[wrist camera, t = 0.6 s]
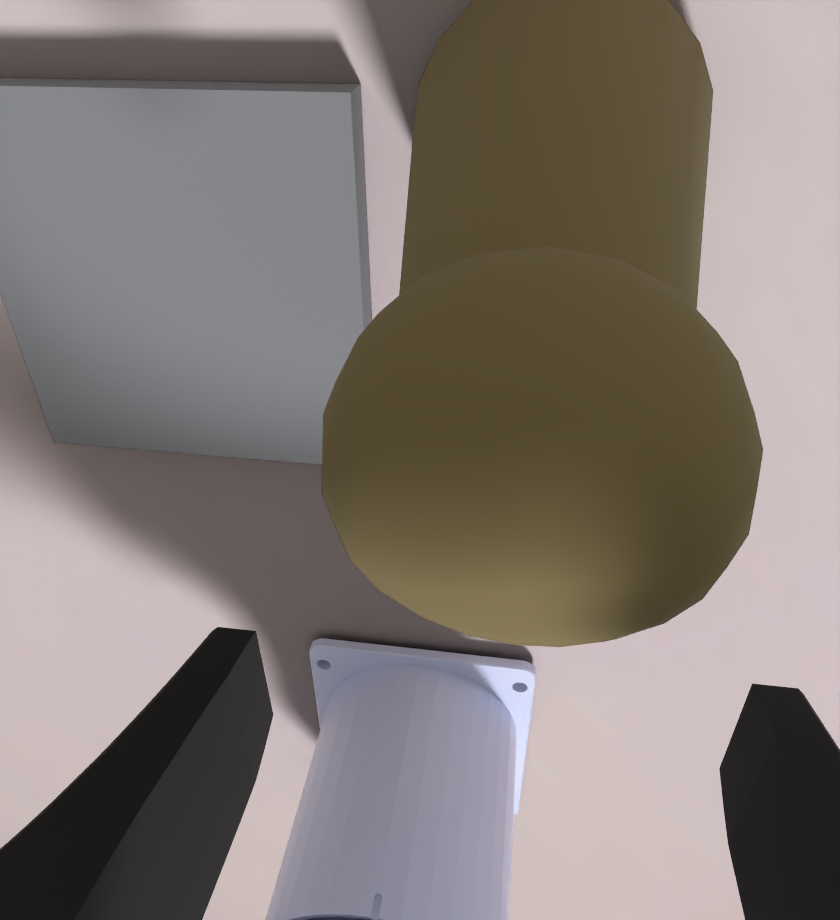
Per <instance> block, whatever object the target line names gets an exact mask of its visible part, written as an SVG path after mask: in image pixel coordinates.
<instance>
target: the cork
mask: <svg viewBox="0 0 840 920" xmlns="http://www.w3.org/2000/svg"><path fill="white" fill-rule="evenodd" d="M712 98H713V89H712V85H711V81H710V77H709V74H708V70H707V66H706V63H705V59H704V55H703V52H702V48H701V44H700V42H699V41H698V39H697V38H696V36H695V35H694V34H693V32H692V31H691V30H690V28H689V27H688V26H687V24H686V23H685V21H684V20H683V19H682V17H681V16H680V15H679V13H678V12H677V10H676V9H675V8H674V6H673V5H672V4H671V2H670V1H668V0H475V1H473V2H472V3H471V4H470V5H469V6H468V7H467V9H466V10H465V11H464V12H463V13H462V14H461V15H460V16H459V18H458V19H457V20H456V21H455V22H454V23H453V24H452V25H451V27H450V28H449V29H448V30H447V31H446V32H445V33H444V34H443V36H442V37H441V38H440V39H439V40H438V42H437V44H436V46H435V49H434V51H433V53H432V56H431V58H430V60H429V62H428V65H427V67H426V69H425V72H424V74H423V76H422V78H421V81H420V83H419V85H418V93H417V102H416V112H415V121H414V131H413V142H412V154H411V165H410V177H409V189H408V200H407V212H406V223H405V235H404V247H403V258H402V270H401V281H400V293H399V296H398V297H397V298H396V299H395V300H393V301H392V302H391V303H390V304H389V305H388V306H386V307H385V308H384V309H383V310H382V311H381V312H379V314H378V315H377V316H376V317H375V318H374V319H373V320H372V322H371V323H370V324H369V325H368V326H367V327H366V328H365V330H364V331H363V332H362V333H361V334H360V335H359V336H358V338H357V340H356V342H355V344H354V346H353V348H352V350H351V352H350V354H349V356H348V358H347V360H346V362H345V364H344V366H343V368H342V370H341V372H340V374H339V376H338V378H337V379H336V381H335V384H334V387H333V389H332V392H331V395H330V397H329V400H328V402H327V405H326V408H325V410H324V413H323V441H322V495H323V498H324V500H325V503H326V505H327V508H328V510H329V513H330V515H331V518H332V520H333V523H334V525H335V528H336V530H337V532H338V534H339V537H340V539H341V541H342V543H343V546H344V548H345V550H346V552H347V554H348V557H349V559H350V561H351V562H352V563H353V564H354V565H355V566H356V567H357V568H358V569H359V570H360V571H361V572H362V573H363V574H364V575H365V577H366V578H367V579H368V580H369V581H370V582H371V583H372V584H373V585H374V586H375V587H376V588H377V589H378V590H379V591H380V592H382V593H384V594H385V595H387V596H388V597H390V598H392V599H393V600H395V601H396V602H398V603H400V604H401V605H403V606H404V607H406V608H408V609H409V610H411V611H412V612H414V613H416V614H417V615H419V616H421V617H423V618H425V619H427V620H429V621H432V622H434V623H437V624H440V625H442V626H445V627H448V628H450V629H453V630H455V631H458V632H461V633H463V634H466V635H469V636H473V637H478V638H483V639H487V640H492V641H497V642H502V643H507V644H512V645H528V646H551V647H564V646H572V645H580V644H588V643H596V642H605V641H609V640H613V639H618V638H621V637H624V636H627V635H630V634H633V633H636V632H639V631H642V630H645V629H648V628H651V627H655V626H658V625H661V624H664V623H666V622H667V621H669V620H670V619H672V618H673V617H675V616H677V615H678V614H680V613H681V612H683V611H685V610H686V609H688V608H689V607H691V606H692V605H694V604H696V603H697V602H699V601H700V600H702V599H703V598H704V597H705V595H706V594H707V593H708V591H709V590H710V589H711V587H712V586H713V585H714V584H715V582H716V581H717V580H718V578H719V577H720V576H721V574H722V573H723V572H724V570H725V569H726V568H727V567H728V565H729V563H730V562H731V560H732V559H733V557H734V556H735V554H736V553H737V551H738V550H739V548H740V547H741V545H742V544H743V542H744V541H745V539H746V538H747V536H748V535H749V530H750V525H751V519H752V514H753V509H754V503H755V498H756V492H757V486H758V480H759V473H760V467H761V460H762V453H763V447H762V443H761V439H760V434H759V430H758V426H757V422H756V417H755V413H754V410H753V407H752V404H751V401H750V397H749V394H748V391H747V388H746V385H745V382H744V379H743V376H742V373H741V370H740V367H739V363H738V361H737V360H736V358H735V357H734V355H733V354H732V352H731V351H730V349H729V348H728V347H727V345H726V344H725V342H724V341H723V339H722V338H721V337H720V335H719V334H718V332H717V331H716V330H715V329H714V328H713V327H712V326H711V325H710V324H709V323H708V322H707V320H706V319H705V318H704V317H703V316H702V315H701V314H700V313H699V312H698V311H697V309H696V308H697V295H698V282H699V269H700V256H701V243H702V230H703V217H704V203H705V190H706V177H707V164H708V151H709V138H710V125H711V112H712Z"/></svg>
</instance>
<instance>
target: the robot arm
mask: <svg viewBox="0 0 840 920" xmlns="http://www.w3.org/2000/svg"><path fill="white" fill-rule="evenodd" d="M309 655H310V662H311V669H312V676H313V683H314V690H315V697H316V704H317V711H318V718H319V725H320V733H319V737H318V740H317V743H316V747H315V750H314V754H313V757H312V761H311V764H310V768H309V771H308V774H307V778H306V781H305V785H304V788H303V792H302V795H301V799H300V802H299V806H298V809H297V812H296V816H295V819H294V823H293V826H292V830H291V833H290V837H289V840H288V844H287V847H286V850H285V854H284V857H283V861H282V864H281V868H280V871H279V875H278V878H277V881H276V885H275V888H274V892H273V895H272V899H271V902H270V906H269V909H268V913H267V916H266V919H265V920H509V903H510V881H511V858H512V836H513V816H514V815H516V814H517V813H518V809H519V801H520V794H521V786H522V779H523V771H524V763H525V756H526V748H527V741H528V733H529V725H530V718H531V710H532V703H533V695H534V687H535V680H536V670H535V667H534V666H533V665H532V664H531V663H529V662H527V661H523V660H514V659H505V658H496V657H487V656H478V655H469V654H460V653H451V652H442V651H433V650H424V649H415V648H406V647H397V646H388V645H379V644H370V643H361V642H352V641H343V640H334V639H325V638H321V639H317V640H314V641H313V642H312V644H311V647H310V651H309ZM520 682H521V683H520ZM272 717H273V712H272V707H271V702H270V697H269V692H268V687H267V683H266V678H265V673H264V668H263V663H262V658H261V654H260V649H259V644H258V639H257V634H256V631H250V630H240V629H231V628H221V627H217V628H216V629H215V630H213V631H212V632H211V633H210V634H209V635H208V637H207V638H206V639H205V640H204V641H203V642H202V644H201V645H200V646H199V647H198V648H197V649H196V650H195V652H194V653H193V654H192V655H191V656H190V657H189V659H188V660H187V661H186V662H185V663H184V664H183V665H182V667H181V668H180V669H179V670H178V671H177V672H176V673H175V675H174V676H173V677H172V678H171V679H170V680H169V681H168V683H167V684H166V685H165V686H164V687H163V688H162V689H161V690H160V691H159V693H158V694H157V695H156V696H155V697H154V698H153V699H152V700H151V701H150V703H149V704H148V705H147V706H146V707H145V708H144V709H143V710H142V711H141V712H140V713H139V714H138V715H137V717H136V718H135V719H134V720H133V721H132V722H131V723H130V724H129V725H128V726H127V727H126V728H125V729H124V730H123V731H122V732H121V734H120V735H119V736H118V737H117V738H116V739H115V740H114V741H113V742H112V743H111V744H110V745H109V746H108V747H107V748H106V749H105V750H104V751H103V752H102V753H101V754H100V756H99V757H98V758H97V759H96V760H95V761H93V762H92V763H91V764H90V765H89V766H88V767H87V768H86V769H85V770H84V771H83V772H82V773H81V774H80V775H79V776H78V777H77V778H76V779H75V780H74V781H73V782H72V783H71V784H70V785H69V786H68V787H67V788H66V789H65V790H64V791H63V792H62V793H61V794H60V795H59V796H58V797H57V798H56V799H55V800H54V801H53V802H52V803H51V804H49V805H48V806H47V807H46V808H45V809H44V810H43V811H42V812H41V813H40V814H39V815H38V816H37V817H35V818H34V819H33V820H32V821H31V822H30V823H29V824H28V825H27V826H26V827H25V828H23V829H22V830H21V831H20V832H19V833H18V834H17V835H16V836H14V837H13V838H12V839H11V840H10V841H9V842H8V843H7V844H5V845H4V846H3V847H2V848H1V849H0V920H202V919H203V916H204V913H205V911H206V908H207V906H208V903H209V901H210V898H211V895H212V893H213V890H214V888H215V885H216V883H217V880H218V877H219V875H220V872H221V870H222V867H223V865H224V862H225V860H226V857H227V854H228V852H229V849H230V847H231V844H232V842H233V839H234V836H235V834H236V831H237V829H238V826H239V823H240V821H241V818H242V816H243V813H244V810H245V808H246V805H247V803H248V800H249V797H250V795H251V792H252V789H253V787H254V784H255V781H256V778H257V774H258V771H259V767H260V763H261V760H262V756H263V753H264V749H265V745H266V741H267V737H268V733H269V729H270V725H271V721H272ZM720 777H721V786H722V796H723V805H724V814H725V822H726V830H727V838H728V845H729V849H730V854H731V859H732V863H733V868H734V872H735V876H736V881H737V885H738V890H739V894H740V898H741V903H742V907H743V912H744V916H745V920H840V749H839V748H838V746H837V745H836V743H835V742H834V740H833V739H832V737H831V736H830V734H829V733H828V731H827V730H826V728H825V727H824V725H823V723H822V722H821V720H820V719H819V717H818V716H817V714H816V713H815V711H814V710H813V708H812V706H811V705H810V703H809V702H808V700H807V699H806V697H805V696H804V694H803V693H802V692H801V691H800V690H799V689H797V688H787V687H778V686H768V685H759V684H752V686H751V688H750V691H749V694H748V696H747V699H746V701H745V704H744V707H743V709H742V712H741V714H740V717H739V720H738V722H737V725H736V727H735V730H734V732H733V735H732V738H731V740H730V743H729V745H728V748H727V751H726V753H725V756H724V758H723V761H722V763H721V766H720Z"/></svg>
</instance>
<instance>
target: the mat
mask: <svg viewBox="0 0 840 920" xmlns="http://www.w3.org/2000/svg"><path fill="white" fill-rule="evenodd" d="M0 294H1V296H2V299H3V302H4V305H5V308H6V310H7V313H8V316H9V319H10V322H11V324H12V327H13V330H14V333H15V336H16V338H17V341H18V344H19V347H20V350H21V352H22V355H23V358H24V361H25V364H26V366H27V369H28V372H29V375H30V378H31V380H32V383H33V386H34V389H35V392H36V394H37V397H38V400H39V403H40V406H41V408H42V411H43V414H44V417H45V420H46V422H47V425H48V428H49V431H50V434H51V436H52V439H53V442H54V443H62V444H74V445H86V446H98V447H111V448H123V449H135V450H147V451H160V452H172V453H184V454H196V455H208V456H221V457H233V458H245V459H257V460H270V461H282V462H294V463H306V464H319V465H322V441H323V413H324V410H325V408H326V405H327V402H328V400H329V397H330V395H331V392H332V389H333V387H334V384H335V381H336V379H337V378H338V376H339V374H340V372H341V370H342V368H343V366H344V364H345V362H346V360H347V358H348V356H349V354H350V352H351V350H352V348H353V346H354V344H355V342H356V340H357V338H358V336H359V335H360V334H361V333H362V332H363V331H364V330H365V328H366V327H367V326H368V325H369V324H370V323H371V322H372V309H371V288H370V267H369V246H368V226H367V205H366V184H365V163H364V143H363V122H362V101H361V84H325V83H269V82H212V81H156V80H100V79H43V78H0Z"/></svg>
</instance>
